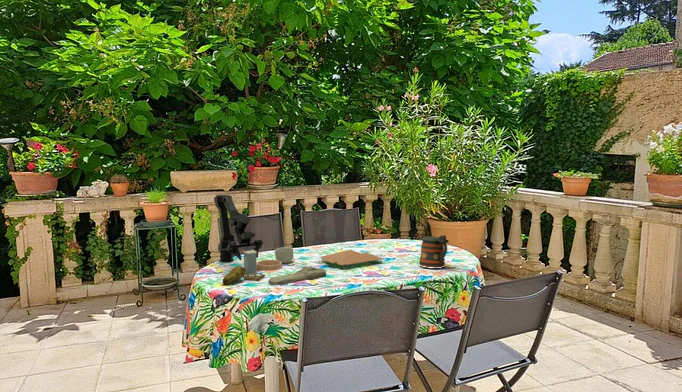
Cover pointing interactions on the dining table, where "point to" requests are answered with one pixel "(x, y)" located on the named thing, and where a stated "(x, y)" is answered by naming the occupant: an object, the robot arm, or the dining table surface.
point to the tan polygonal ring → (271, 264)
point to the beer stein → (433, 251)
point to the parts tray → (254, 278)
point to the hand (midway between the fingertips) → (249, 258)
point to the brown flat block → (349, 258)
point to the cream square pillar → (250, 261)
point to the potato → (234, 275)
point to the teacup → (284, 254)
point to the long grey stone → (298, 276)
